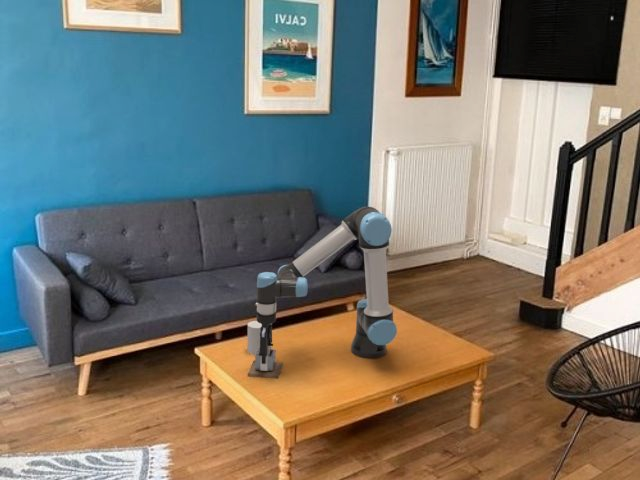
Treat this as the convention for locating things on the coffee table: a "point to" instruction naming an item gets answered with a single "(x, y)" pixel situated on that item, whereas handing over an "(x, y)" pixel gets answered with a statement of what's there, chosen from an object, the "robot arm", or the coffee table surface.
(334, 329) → the coffee table surface
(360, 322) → the robot arm
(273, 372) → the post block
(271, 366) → the collar
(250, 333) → the gold-veined taupe cylinder
